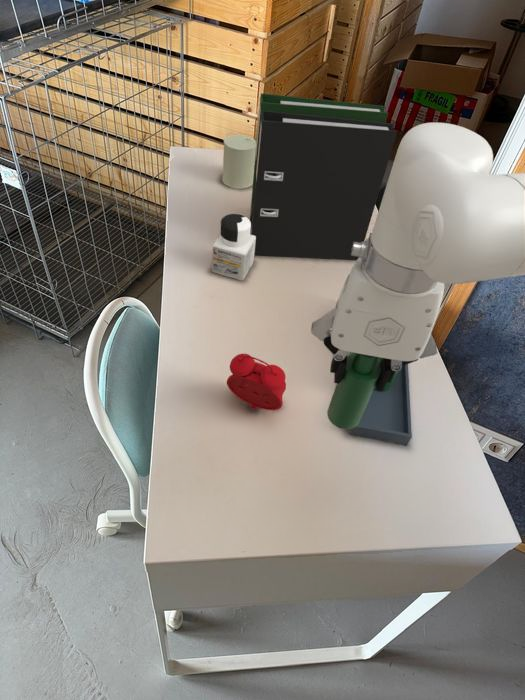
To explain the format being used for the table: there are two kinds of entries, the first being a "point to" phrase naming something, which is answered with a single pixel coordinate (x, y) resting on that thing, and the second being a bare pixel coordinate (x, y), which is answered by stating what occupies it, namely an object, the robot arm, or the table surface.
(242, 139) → the can
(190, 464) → the table surface
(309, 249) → the binder
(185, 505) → the table surface
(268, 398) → the alarm clock
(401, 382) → the tray
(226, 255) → the container
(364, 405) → the loose bottle
